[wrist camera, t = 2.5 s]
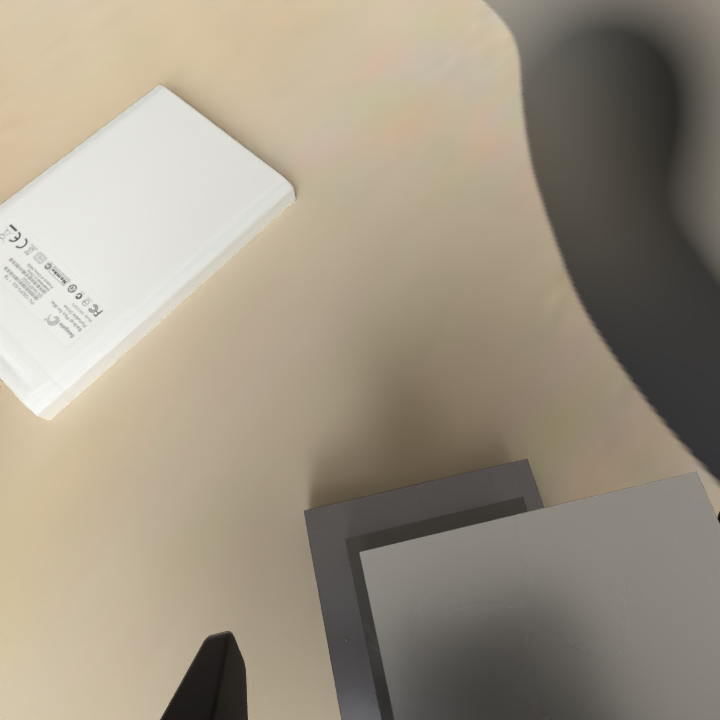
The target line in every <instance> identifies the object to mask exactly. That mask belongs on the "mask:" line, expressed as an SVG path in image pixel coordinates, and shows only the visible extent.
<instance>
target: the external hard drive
mask: <svg viewBox="0 0 720 720" xmlns="http://www.w3.org/2000/svg"><path fill="white" fill-rule="evenodd" d="M294 201H296V197H295V191H294V187H293V186H292V184H291V183H290V182H289V181H288V180H287V179H286V178H284V177H283V176H282V175H281V174H280V173H278V172H277V171H276V170H274V169H273V168H271V167H270V166H269V165H268V164H266V163H265V162H264V161H262V160H261V159H260V158H258V157H257V156H256V155H255V154H253V153H252V152H251V151H249V150H248V149H247V148H245V147H244V146H243V145H241V144H240V143H239V142H237V141H236V140H235V139H233V138H232V137H231V136H229V135H228V134H227V133H226V132H224V131H223V130H221V129H220V128H219V127H218V126H216V125H215V124H213V123H212V122H211V121H210V120H209V119H207V118H206V117H205V116H203V115H202V114H201V113H199V112H198V111H197V110H195V109H194V108H193V107H192V106H190V105H189V104H187V103H186V102H185V101H184V100H182V99H181V98H180V97H179V96H177V95H176V94H174V93H173V92H172V91H170V90H169V89H167V88H166V87H165V86H163V85H161V84H160V85H158V86H156V87H155V88H154V89H152V90H151V91H150V92H149V93H147V94H146V95H145V96H143V97H142V98H141V99H139V100H138V101H136V102H135V103H134V104H133V105H131V106H130V107H129V108H127V109H126V110H125V111H123V112H122V113H121V114H119V115H118V116H117V117H116V118H114V119H113V120H112V121H110V122H109V123H108V124H106V125H105V126H104V127H102V128H101V129H100V130H99V131H97V132H96V133H95V134H93V135H92V136H91V137H89V138H88V139H87V140H85V141H84V142H83V143H81V144H80V145H79V146H77V147H76V148H75V149H73V150H72V151H71V152H70V153H68V154H67V155H66V156H64V157H63V158H62V159H60V160H59V161H58V162H56V163H55V164H54V165H52V166H51V167H50V168H48V169H47V170H46V171H44V172H43V173H42V174H41V175H39V176H38V177H37V178H35V179H34V180H33V181H31V182H30V183H29V184H27V185H26V186H25V187H23V188H22V189H21V190H20V191H18V192H17V193H16V194H14V195H13V196H12V197H10V198H9V199H8V200H6V201H5V202H4V203H2V204H1V205H0V379H1V380H2V381H3V382H4V383H5V384H6V385H7V386H8V387H9V388H10V389H11V390H12V392H13V393H14V394H15V395H16V396H17V397H18V398H19V399H20V400H21V402H22V403H23V404H24V405H25V406H26V407H27V408H29V409H30V410H31V411H32V412H33V413H34V414H36V415H37V416H39V417H42V418H44V419H47V420H51V419H52V418H53V417H54V416H55V415H57V414H58V413H59V412H60V411H61V410H62V409H63V408H64V407H66V406H67V405H68V404H69V403H70V402H71V401H72V400H73V399H74V398H75V397H76V396H78V395H79V394H80V393H81V392H82V391H84V390H85V389H86V388H87V387H88V386H89V385H90V384H91V383H93V382H94V381H95V380H96V379H97V378H98V377H99V376H100V375H102V374H103V373H104V372H105V371H106V370H107V369H108V368H109V367H110V366H112V365H113V364H114V363H115V362H116V361H117V360H118V359H119V358H121V357H122V356H123V355H124V354H125V353H126V352H127V351H128V350H129V349H131V348H132V347H133V346H134V345H135V344H136V343H137V342H138V341H139V340H141V339H142V338H143V337H144V336H145V335H146V334H147V333H149V332H150V331H151V330H152V329H153V328H154V327H155V326H156V325H157V324H159V323H160V322H161V321H162V320H163V319H164V318H165V317H166V316H168V315H169V314H170V313H171V312H172V311H173V310H174V309H175V308H176V307H177V306H179V305H180V304H181V303H182V302H183V301H184V300H185V299H186V298H187V297H189V296H190V295H191V294H192V293H193V292H194V291H195V290H196V289H197V288H199V287H200V286H201V285H202V284H203V283H204V282H205V281H206V280H207V279H209V278H210V277H211V276H212V275H213V274H214V273H215V272H216V271H218V270H219V269H220V268H221V267H222V266H223V265H224V264H225V263H226V262H228V261H229V260H230V259H231V258H232V257H233V256H234V255H235V254H237V253H238V252H239V251H240V250H241V249H242V248H243V247H244V246H245V245H247V244H248V243H249V242H250V241H251V240H252V239H253V238H254V237H255V236H256V235H258V234H259V233H260V232H261V231H262V230H263V229H264V228H265V227H267V226H268V225H269V224H270V223H271V222H272V221H273V220H274V219H275V218H277V217H278V216H279V215H280V214H281V213H282V212H283V211H284V210H285V209H286V208H288V207H289V206H290V205H291V204H292V203H293V202H294Z"/></svg>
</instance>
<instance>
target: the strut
mask: <svg viewBox="0 0 720 720" xmlns="http://www.w3.org/2000/svg"><path fill="white" fill-rule="evenodd" d="M345 542H346V547H347V552H348V557H349V562H350V567H351V572H352V576H353V581H354V586H355V591H356V596H357V601H358V606H359V611H360V616H361V621H362V626H363V631H364V636H365V641H366V646H367V651H368V655H369V660H370V665H371V670H372V675H373V680H374V685H375V690H376V695H377V700H378V705H379V710H380V715H381V720H720V523H719V521H718V519H717V516H716V514H715V512H714V510H713V507H712V505H711V503H710V501H709V498H708V496H707V494H706V492H705V489H704V487H703V485H702V483H701V480H700V478H699V476H698V474H697V472H693V473H689V474H684V475H680V476H676V477H672V478H668V479H663V480H659V481H655V482H651V483H647V484H643V485H638V486H634V487H630V488H626V489H622V490H617V491H613V492H609V493H605V494H601V495H597V496H592V497H588V498H584V499H580V500H576V501H571V502H567V503H563V504H559V505H555V506H551V507H546V508H542V509H538V510H534V511H530V512H528V510H527V507H526V504H525V501H524V498H523V497H519V498H515V499H511V500H506V501H502V502H498V503H494V504H490V505H485V506H481V507H477V508H473V509H468V510H464V511H460V512H456V513H452V514H447V515H443V516H439V517H435V518H430V519H426V520H422V521H418V522H414V523H409V524H405V525H401V526H397V527H392V528H388V529H384V530H380V531H376V532H371V533H367V534H363V535H359V536H354V537H350V538H346V539H345Z"/></svg>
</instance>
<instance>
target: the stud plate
mask: <svg viewBox="0 0 720 720" xmlns="http://www.w3.org/2000/svg"><path fill="white" fill-rule="evenodd" d="M519 497H523V498H524V501H525V504H526V507H527V510H528V512H530V511H534V510H538V509H542V508H544V507H543V504H542V501H541V498H540V496H539V493H538V490H537V487H536V484H535V481H534V478H533V475H532V472H531V469H530V466H529V463H528V460H527V459H525V460H521V461H516V462H512V463H508V464H503V465H499V466H495V467H490V468H486V469H482V470H477V471H473V472H469V473H465V474H460V475H456V476H452V477H447V478H443V479H439V480H434V481H430V482H426V483H421V484H417V485H413V486H409V487H404V488H400V489H396V490H391V491H387V492H383V493H378V494H374V495H370V496H365V497H361V498H357V499H353V500H348V501H344V502H340V503H335V504H331V505H327V506H322V507H318V508H314V509H309V510H305V511H304V514H305V520H306V525H307V531H308V537H309V542H310V548H311V553H312V559H313V564H314V570H315V575H316V581H317V587H318V592H319V598H320V603H321V609H322V614H323V620H324V625H325V631H326V637H327V642H328V648H329V653H330V659H331V664H332V670H333V676H334V681H335V687H336V692H337V698H338V703H339V709H340V714H341V720H381V715H380V710H379V705H378V700H377V695H376V690H375V685H374V680H373V675H372V670H371V665H370V660H369V655H368V651H367V646H366V641H365V636H364V631H363V626H362V621H361V616H360V611H359V606H358V601H357V596H356V591H355V586H354V581H353V576H352V572H351V567H350V562H349V557H348V552H347V547H346V542H345V539H346V538H350V537H354V536H359V535H363V534H367V533H371V532H376V531H380V530H384V529H388V528H392V527H397V526H401V525H405V524H409V523H414V522H418V521H422V520H426V519H430V518H435V517H439V516H443V515H447V514H452V513H456V512H460V511H464V510H468V509H473V508H477V507H481V506H485V505H490V504H494V503H498V502H502V501H506V500H511V499H515V498H519Z"/></svg>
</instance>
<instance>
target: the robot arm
mask: <svg viewBox="0 0 720 720" xmlns="http://www.w3.org/2000/svg"><path fill="white" fill-rule="evenodd" d="M717 519H718V521H719V523H720V512H719V514H718V517H717ZM160 720H248V713H247V685H246V669H245V663H244V660H243V657H242V655H241V652H240V650H239V647H238V645H237V642H236V640H235V637H234V635H233V634H232V633H231V632H230V631H225V632H221V633H217V634H213V635H210V636H208V637H207V638H206V639H205V640H204V642H203V644H202V646H201V647H200V649H199V651H198V653H197V655H196V656H195V658H194V660H193V662H192V664H191V665H190V667H189V669H188V671H187V673H186V674H185V676H184V678H183V680H182V682H181V683H180V685H179V687H178V689H177V691H176V692H175V694H174V696H173V698H172V700H171V701H170V703H169V705H168V707H167V709H166V710H165V712H164V714H163V716H162V717H161V719H160Z"/></svg>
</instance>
